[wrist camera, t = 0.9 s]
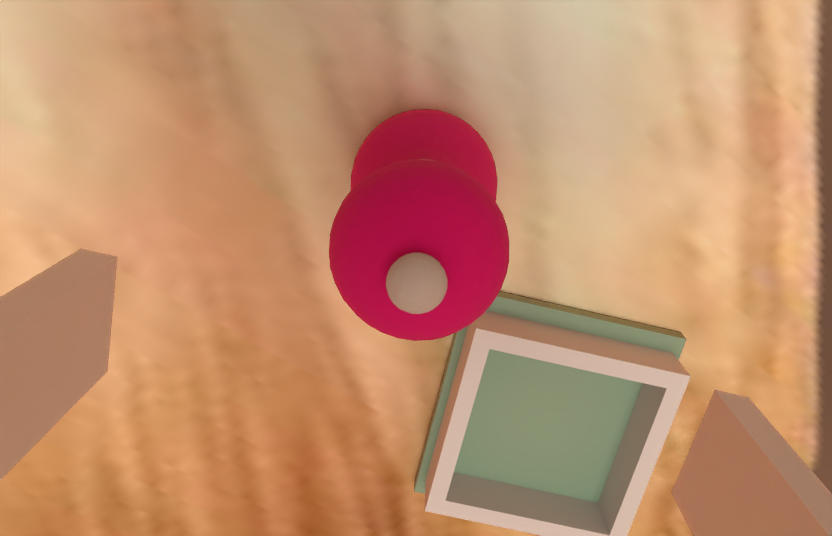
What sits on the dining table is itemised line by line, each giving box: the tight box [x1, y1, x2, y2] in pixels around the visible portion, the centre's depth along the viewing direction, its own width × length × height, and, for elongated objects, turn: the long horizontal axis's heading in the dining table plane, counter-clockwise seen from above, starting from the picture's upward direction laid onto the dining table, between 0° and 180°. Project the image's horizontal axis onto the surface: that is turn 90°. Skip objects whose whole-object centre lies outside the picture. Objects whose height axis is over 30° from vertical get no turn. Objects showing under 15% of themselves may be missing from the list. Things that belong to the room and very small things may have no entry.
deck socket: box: [414, 291, 691, 536], centre depth 40 cm, size 14×13×4 cm
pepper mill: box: [329, 109, 509, 341], centre depth 28 cm, size 7×7×20 cm
